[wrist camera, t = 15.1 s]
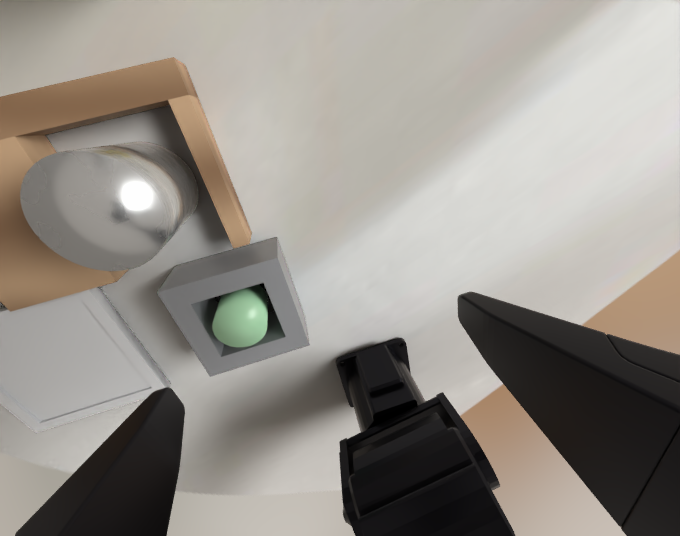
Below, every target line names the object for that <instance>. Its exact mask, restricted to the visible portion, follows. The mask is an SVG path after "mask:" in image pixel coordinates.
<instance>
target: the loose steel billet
mask: <svg viewBox="0 0 680 536" xmlns="http://www.w3.org/2000/svg"><path fill="white" fill-rule="evenodd" d="M198 197H199V192H198V186H197V182H196V179H195V177H194V175H193V173H192V171H191V170H190V168H189V167H188V165H187V164H186V163H185V162H184V161H183V160H182V159H181V158H180V157H179V156H178V155H176V154H175V153H174V152H172V151H170V150H169V149H167V148H165V147H162V146H160V145H157V144H153V143H149V142H131V143H124V144H116V145H109V146H101V147H94V148H87V149H79V150H72V151H65V152H59V153H55V154H52V155H49V156H46V157H44V158H42V159H40V160H39V161H38V162H36V163H35V164H34V165H33V166H32V167H31V168H30V169H29V170H28V172H27V173H26V175H25V177H24V179H23V182H22V185H21V191H20V200H21V206H22V210H23V213H24V215H25V218H26V220H27V222H28V224H29V226H30V227H31V228H32V230H33V231H34V233H35V234H36V235H37V236H38V237H39V239H40V240H41V241H42V242H43V243H44V244H46V245H47V246H48V247H49V248H50V249H52V250H53V251H54V252H56V253H57V254H59V255H60V256H62V257H63V258H65V259H67V260H69V261H71V262H73V263H76V264H78V265H81V266H84V267H87V268H91V269H96V270H102V271H123V270H128V269H133V268H136V267H138V266H141V265H143V264H145V263H146V262H148V261H149V260H151V259H152V258H153V257H154V256H155V255H156V254H157V253H158V252H159V251H160V250H161V249H162V247H163V246H164V245H165V244H166V243H167V242H168V241H169V240H170V239H171V238H172V236H173V235H174V234H175V233H176V232H177V231H178V230H179V229H180V228H181V226H182V225H183V224H184V223H185V222H186V221H187V220H188V219H189V218H190V216H191V215H192V214H193V213H194V211H195V209H196V206H197V204H198Z"/></svg>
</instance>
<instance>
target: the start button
mask: <svg viewBox="0 0 680 536" xmlns="http://www.w3.org/2000/svg"><path fill="white" fill-rule="evenodd" d="M267 320H268V296H267V293H266V291H265V290H264V289H263V288H262V287H261V286H260V285H258V284H257V285H254V286H250V287H247V288H244V289H240V290H237V291H234V292H230V293H227V294H223V295H221V297H220V301H219V304H218V307H217V310H216V314H215V317H214V320H213V324H212V328H213V332H214V335H215V336H216V338H217V339H218V340H219V341H221V342H222V343H224V344H226V345H228V346H232V347H248V346H251V345H254V344H256V343H257V342H259V341H260V340H261V339H262V338H263V337H264V335H265V334H266V331H267Z"/></svg>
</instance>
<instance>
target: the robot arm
mask: <svg viewBox="0 0 680 536" xmlns="http://www.w3.org/2000/svg"><path fill="white" fill-rule="evenodd" d="M458 318H459V321H460V323H461V324H462V326H463V327H464V329H465V330H466V332H467V334H468V335H469V337H470V338H471V340H472V341H473V343H474V344H475V346H476V347H477V349H478V350H479V352H480V354H481V355H482V357H483V358H484V360H485V361H486V362H487V364H488V365H489V366H490V368H491V369H492V370H493V371H494V373H495V374H496V375H497V376H498V378H499V379H500V380H501V381H502V383H503V384H504V385H505V386H506V387H507V389H508V390H509V391H510V392H511V394H512V395H513V396H514V397H515V398H516V400H517V401H518V402H519V403H520V404H521V406H522V407H523V408H524V410H525V411H526V412H527V413H528V414H529V416H530V417H531V418H532V419H533V421H534V422H535V423H536V424H537V425H538V427H539V428H540V429H541V430H542V431H543V433H544V434H545V435H546V437H547V438H548V439H549V440H550V441H551V443H552V444H553V445H554V446H555V448H556V449H557V450H558V451H559V453H560V454H561V455H562V456H563V458H564V459H565V460H566V461H567V462H568V464H569V465H570V466H571V467H572V468H573V470H574V471H575V472H576V473H577V475H578V476H579V477H580V478H581V480H582V481H583V482H584V483H585V485H586V486H587V487H588V488H589V489H590V491H591V492H592V493H593V494H594V496H596V498H597V499H598V500H599V502H600V503H601V504H602V505H603V507H604V508H605V509H606V510H607V512H608V513H609V514H610V515H611V517H613V519H614V520H615V521H616V523H617V524H618V525H619V526H620V527H621V529H622V530H623V532H624V533H625V534H626V535H627V536H680V355H678V354H675V353H671V352H667V351H664V350H660V349H656V348H653V347H649V346H646V345H642V344H639V343H636V342H632V341H629V340H626V339H623V338H619V337H616V336H613V335H610V334H607V335H606V334H605V333H603V332H600V331H597V330H594V329H590V328H587V327H584V326H581V325H578V324H574V323H571V322H568V321H565V320H561V319H558V318H555V317H552V316H549V315H545V314H542V313H539V312H536V311H533V310H529V309H526V308H523V307H520V306H517V305H513V304H510V303H507V302H504V301H500V300H497V299H494V298H491V297H488V296H484V295H481V294H478V293H475V292H467V293H464V294H461V295H459V296H458ZM400 343H401V344H400ZM399 344H400V345H399ZM341 362H343V363H341ZM336 364H337V368H338V371H339V374H340V377H341V380H342V383H343V386H344V390H345V393H346V396H347V399H348V402H349V405H350V406H351V407H354V409H355V413H356V417H357V420H358V424H359V427H360V431H361V433H359V434H357V435H355V436H353V437H351V438H349V439H347V438H346V439H343V440H341V441H340V453H339V454H340V469H341V483H342V496H343V516H344V519H345V521H346V523H348V524H349V525H351V526H352V528H353V531H354V533H355V535H356V536H515V534H514V531H513V529H512V527H511V525H510V524H509V522H508V520H507V518H506V516H505V514H504V512H503V510H502V509H501V507H500V505H499V503H498V501H497V499H496V498H495V496H494V494H493V492H492V490H494V489H496V488H498V487H500V484H499V481H498V479H497V477H496V474H495V472H494V470H493V468H492V467H491V465H490V463H489V461H488V459H487V457H486V455H485V454H484V452H483V450H482V449H481V447H480V445H479V444H478V442H477V440H476V439H475V437H474V436H473V434H472V433H471V431H470V430H469V428H468V427H467V425H466V424H465V423H464V421H463V420H462V419H461V417H460V416H459V414H458V413H457V412H456V410H455V409H454V407H453V406H452V405H451V403H450V402H449V400H448V399H447V398H446V396H445V395H444V393H443V392H442V393H440V394H438V395H436V397H434V398H432V399H430V400H428V401H426V402H425V400H424V398H423V396H422V394H421V392H420V391H419V389H418V387H417V385H416V383H415V381H414V380H413V378H412V376H411V373H410V367H409V360H408V353H407V346H406V342H405V341H404V339H403V338H398V339H395V340H392V341H389V342H386V343H383V344H380V345H377V346H373V347H370V348H367V349H364V350H361V351H358V352H355V353H352V354H349V355H345V356H342V357H340V358H338V359H337V360H336ZM184 416H185V409H184V405H183V403H182V402H181V401H180V399H179V398H178V397H177V395H176V394H175V393H174V391H173V390H172V389H171V388H169V387H165V388H162V389H159V390H156V391H154V392H152V393H151V394H150V395H149V396H148V397H147V398H146V399H145V400H144V401H143V402H142V403H141V404H140V406H139V407H138V408H137V409H136V410H135V411H134V412H133V413H132V414H131V415H130V416H129V417H128V418H127V419H126V420H125V421H124V422H123V423H122V424H121V425H120V426H119V427H118V428H117V429H116V430H115V431H114V432H113V433H112V434H111V435H110V436H109V437H108V439H107V440H106V441H105V442H104V443H103V444H102V445H101V446H100V447H99V448H98V449H97V450H96V451H95V452H94V453H93V454H92V455H91V456H90V457H89V458H88V459H87V460H86V461H85V462H84V463H83V464H82V465H81V466H80V467H79V468H78V469H77V471H76V472H75V473H74V474H73V475H72V476H71V477H70V478H69V479H68V480H67V481H66V482H65V483H64V484H63V485H62V486H61V487H60V488H59V489H58V490H57V491H56V492H55V493H54V494H53V495H52V496H51V497H50V498H49V499H48V500H47V502H46V503H45V504H44V505H43V506H42V507H41V508H40V509H39V510H38V511H37V512H36V513H35V514H34V515H33V516H32V517H31V518H30V519H29V520H28V521H27V522H26V523H25V524H24V525H23V526H22V527H21V528H20V529H19V530H18V531H17V532H16V534H15V536H166V535H167V529H168V525H169V520H170V514H171V509H172V504H173V499H174V494H175V489H176V484H177V479H178V473H179V467H180V459H181V449H182V438H183V427H184Z"/></svg>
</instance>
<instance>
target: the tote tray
mask: <svg viewBox="0 0 680 536" xmlns="http://www.w3.org/2000/svg"><path fill="white" fill-rule="evenodd" d="M170 384H171V383H170V382H169V381H168V379H167V378H166V377H165V375H164V374H163V373H162V371H161V370H160V369H159V367H158V366H157V365H156V363H155V362H154V361H153V359H152V358H151V357H150V355H149V354H148V352H147V351H146V350H145V348H144V347H143V346H142V344H141V343H140V342H139V340H138V339H137V338H136V336H135V335H134V334H133V332H132V331H131V330H130V328H129V327H128V326H127V324H126V323H125V322H124V320H123V319H122V318H121V316H120V315H119V314H118V312H117V311H116V310H115V308H114V307H113V305H112V304H111V303H110V301H109V300H108V299H107V297H106V296H105V295H104V293H103V292H102V291H101V289H100V288H99V287H96V288H92V289H89V290H85V291H82V292H78V293H75V294H71V295H68V296H64V297H61V298H57V299H54V300H50V301H47V302H43V303H40V304H36V305H33V306H29V307H25V308H22V309H18V310H15V311H11V312H10V311H9V310H8V309H7V308H6V307H1V308H0V405H2V406H3V407H4V408H5V409H7V410H8V411H9V412H10V413H12V414H13V415H14V416H15V417H16V418H18V419H19V420H20V421H21V422H23V423H24V424H25V425H26V426H28V427H29V428H30V429H31V430H32V431H34V432H35V433H38V432H42V431H45V430H48V429H51V428H54V427H57V426H61V425H64V424H67V423H70V422H73V421H76V420H79V419H83V418H86V417H89V416H92V415H95V414H98V413H102V412H105V411H108V410H111V409H114V408H117V407H121V406H124V405H127V404H130V403H133V402H136V401H139V400H143V399H146V398H147V397H148V396H149V395H150V394H151V393H152V392H154V391H156V390H159V389H162V388H165V387H170Z"/></svg>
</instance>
